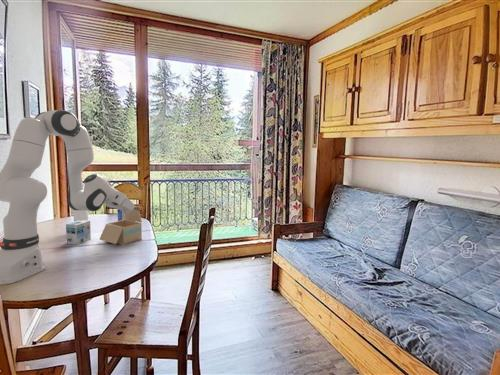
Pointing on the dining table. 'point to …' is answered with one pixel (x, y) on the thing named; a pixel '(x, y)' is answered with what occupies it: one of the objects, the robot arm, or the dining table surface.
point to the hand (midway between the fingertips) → (127, 211)
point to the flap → (133, 215)
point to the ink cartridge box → (121, 215)
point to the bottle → (80, 214)
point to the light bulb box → (78, 232)
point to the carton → (122, 232)
